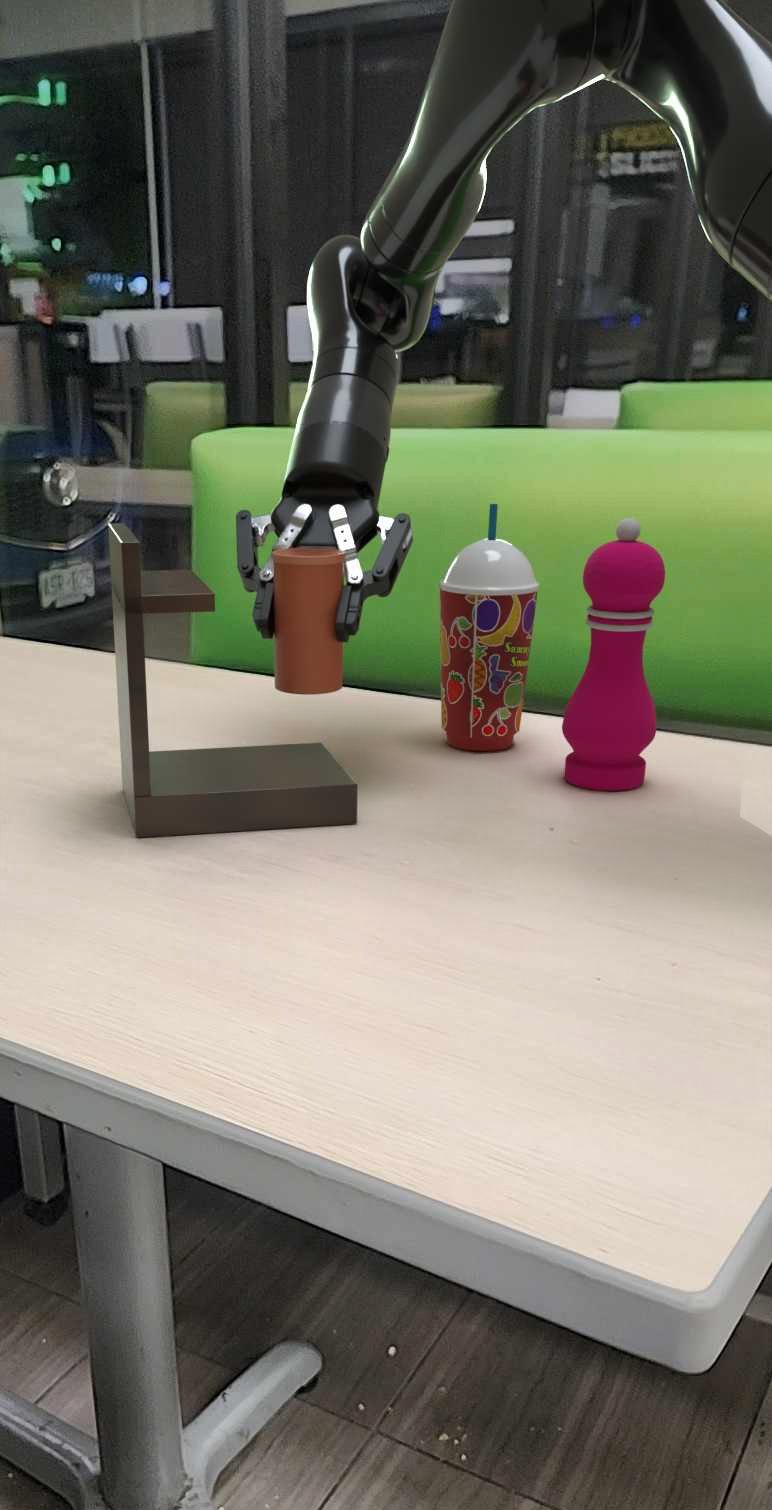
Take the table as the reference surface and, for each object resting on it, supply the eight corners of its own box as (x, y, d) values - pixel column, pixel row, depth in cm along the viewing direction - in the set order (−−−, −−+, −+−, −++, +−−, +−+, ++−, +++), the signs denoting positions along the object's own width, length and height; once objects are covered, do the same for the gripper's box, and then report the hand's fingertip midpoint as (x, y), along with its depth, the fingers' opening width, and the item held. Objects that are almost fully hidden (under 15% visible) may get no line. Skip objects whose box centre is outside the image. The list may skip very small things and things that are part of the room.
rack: (321, 778, 107) (323, 518, 99) (357, 824, 96) (362, 535, 88) (122, 790, 104) (108, 523, 96) (136, 838, 93) (121, 542, 85)
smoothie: (524, 758, 112) (543, 509, 104) (426, 753, 114) (437, 507, 106) (530, 734, 120) (547, 500, 111) (437, 729, 121) (448, 499, 113)
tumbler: (335, 678, 104) (336, 546, 100) (350, 693, 100) (352, 555, 96) (267, 681, 104) (266, 548, 100) (280, 696, 99) (279, 557, 95)
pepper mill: (646, 797, 102) (676, 524, 94) (551, 788, 104) (573, 521, 96) (653, 772, 108) (683, 514, 100) (564, 764, 110) (585, 512, 102)
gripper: (241, 417, 102) (198, 600, 96) (426, 417, 99) (393, 607, 93) (260, 484, 109) (221, 659, 103) (433, 487, 106) (403, 668, 100)
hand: (303, 633), depth 98 cm, fingers closed on tumbler, 5 cm apart
